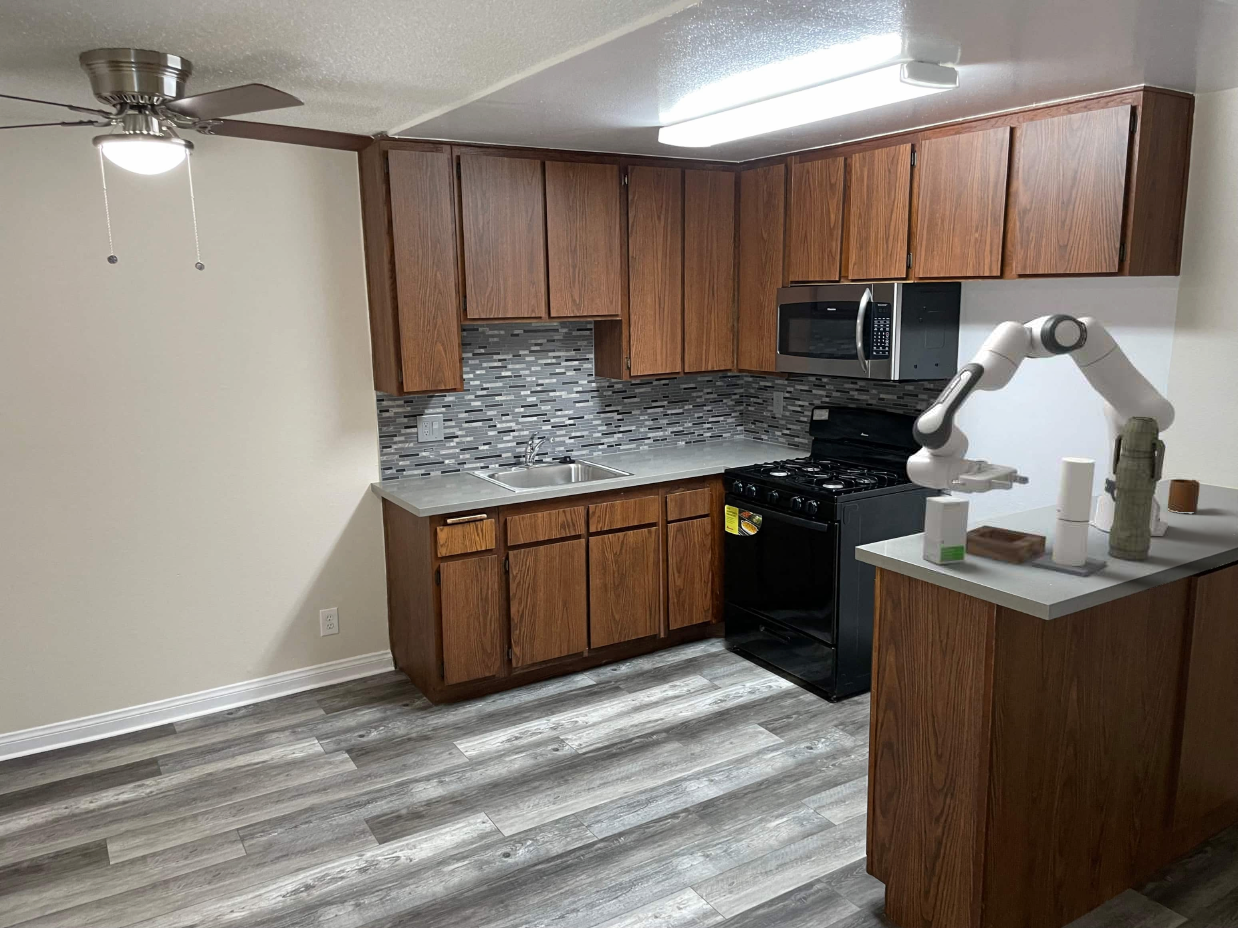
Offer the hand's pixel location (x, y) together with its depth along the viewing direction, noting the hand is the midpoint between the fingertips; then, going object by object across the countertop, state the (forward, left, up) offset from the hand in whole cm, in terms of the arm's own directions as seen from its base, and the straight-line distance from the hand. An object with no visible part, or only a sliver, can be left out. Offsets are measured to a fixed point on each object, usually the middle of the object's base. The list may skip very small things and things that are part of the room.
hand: (1019, 483), depth 226 cm
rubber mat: (+1, +14, -18) cm, 23 cm away
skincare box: (+19, -9, -18) cm, 28 cm away
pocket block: (+1, -3, -18) cm, 18 cm away
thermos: (-18, +21, -18) cm, 33 cm away
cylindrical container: (+1, +14, -17) cm, 22 cm away
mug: (-85, +15, -18) cm, 88 cm away
